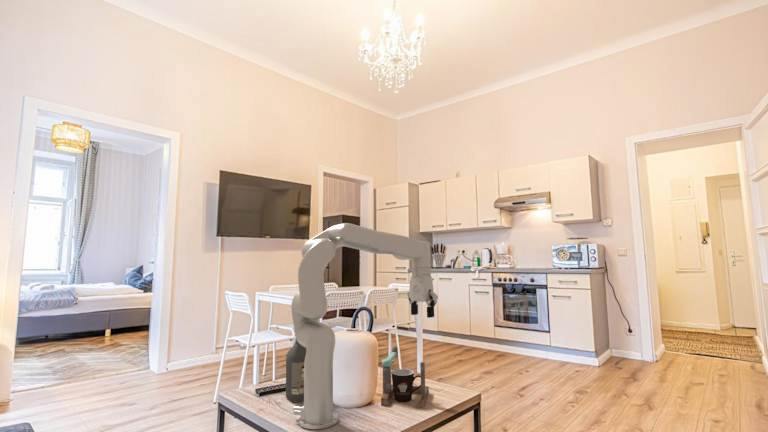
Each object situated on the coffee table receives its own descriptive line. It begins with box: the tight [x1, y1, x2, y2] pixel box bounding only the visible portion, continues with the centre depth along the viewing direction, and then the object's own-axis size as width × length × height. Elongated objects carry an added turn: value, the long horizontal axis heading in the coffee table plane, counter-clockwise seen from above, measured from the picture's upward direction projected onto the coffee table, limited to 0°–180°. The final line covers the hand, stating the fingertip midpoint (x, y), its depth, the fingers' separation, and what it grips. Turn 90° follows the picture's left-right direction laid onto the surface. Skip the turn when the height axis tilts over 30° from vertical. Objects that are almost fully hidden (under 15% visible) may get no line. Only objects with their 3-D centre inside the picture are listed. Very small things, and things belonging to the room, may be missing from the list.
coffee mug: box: [391, 368, 421, 404], centre depth 148 cm, size 12×9×10 cm
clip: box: [381, 346, 399, 368], centre depth 158 cm, size 18×4×4 cm, turn 167°
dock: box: [380, 361, 430, 409], centre depth 150 cm, size 16×16×14 cm
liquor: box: [285, 338, 306, 403], centre depth 153 cm, size 9×9×30 cm
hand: (422, 315), depth 155 cm, fingers open, 9 cm apart
